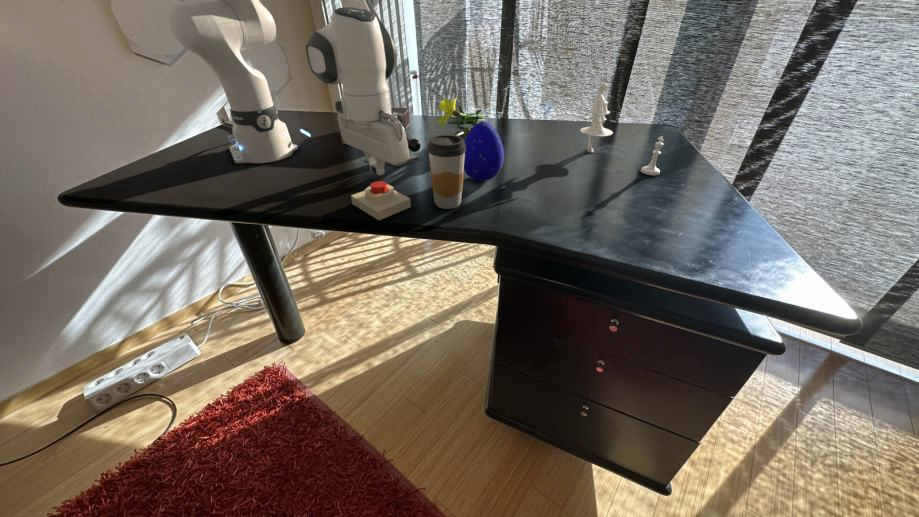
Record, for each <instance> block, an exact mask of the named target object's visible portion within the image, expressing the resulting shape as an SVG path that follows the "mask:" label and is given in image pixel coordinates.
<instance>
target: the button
mask: <svg viewBox="0 0 919 517" xmlns="http://www.w3.org/2000/svg"><path fill="white" fill-rule="evenodd" d="M387 185H388V183H387V182H386V181H382V180H380V181H379V180H378V181H374V182H373V181H372V182H371V183H370V186H371V192H372V193H373V194H383V193H386V192H387Z"/></svg>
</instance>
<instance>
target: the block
mask: <svg viewBox="0 0 919 517" xmlns="http://www.w3.org/2000/svg"><path fill="white" fill-rule="evenodd" d="M350 200H351V204H352V205H353V206H355V207H356V208H358V209H359V210H361V211H363V212H365V213H366V214H368V215H369V216H371V217H372V218H374V219H375V220H377V221H381V220H383V219H386V218H389V217H392V216H393V215H395V214H398V213H400V212H402V211H405V210H408V209H410V208H412V202H411V198H410V197H408V196H406V195H404V194H402V193H400V192H398V191H396V190H395V189H394V186H392V185H390V184H387V192H386V193H383V194H373V193H372V192H371V185H369V186H367V187H366V188H365V189H364V190H363V191H360V192H356V193H354V194H351V195H350Z"/></svg>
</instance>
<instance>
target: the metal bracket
mask: <svg viewBox="0 0 919 517" xmlns="http://www.w3.org/2000/svg"><path fill="white" fill-rule="evenodd" d="M393 114H395V115H396V116H397V117H398V119H399V120H400V123H401V124H402V126H403V128H404V130H405V131H406V132H407V129H406V124H405V115H404V114H401V113H397V112H393ZM418 161H420V156H419V155H417V154H414V153H413V152H412V153H411V152H409V159H408V161H407V162H405V163H402V164H399V165H393V166H394V167H396V168H400V167H403V166H406V165H408V164H412V163H415V162H418ZM386 163H388V162H386ZM388 164H389V163H388Z"/></svg>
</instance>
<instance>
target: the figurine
mask: <svg viewBox="0 0 919 517" xmlns="http://www.w3.org/2000/svg"><path fill="white" fill-rule="evenodd" d="M608 87H609V85H608V84H607V83H606V82H601V83H600V85H599V87H598V89H597V92H598V93H597V94H596V96H595V101H592V104H593V106H592V108H591V109H590V110H587V111H588V113H589V114H592V115H587V116H586V119H588V120H590V121H591V124H590V126H586V127H585V126H584V127H582V128H580V132H581V133H583V134H585V135H588V143H587V145H586V151H587V153H593V154H594V153H595V150H594V148H593V142H594V138H595V137H609V136H612V135H613V134H614V132H613V131H612V130H611V129H609V128H605V127H604V126H603V122H605V121H606V120H607V118H606V117H605V116H604V115H609V114H611V111H610V110H608V106H607V104H609V102H608V101H606V99H605V97H604V93H607V91H608V89H609V88H608Z"/></svg>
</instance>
